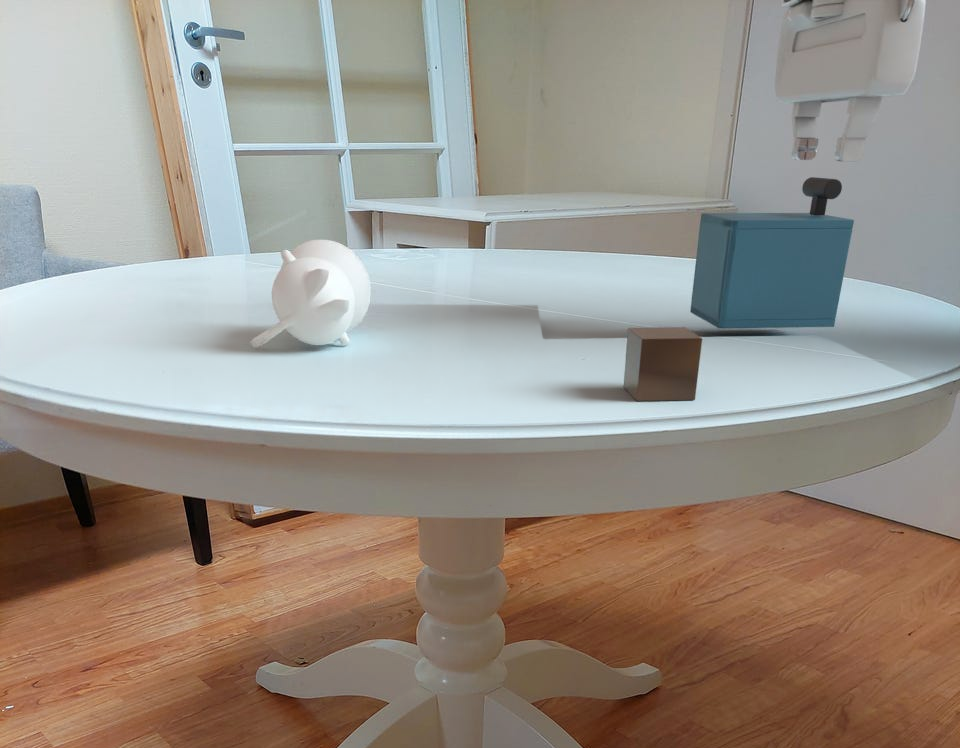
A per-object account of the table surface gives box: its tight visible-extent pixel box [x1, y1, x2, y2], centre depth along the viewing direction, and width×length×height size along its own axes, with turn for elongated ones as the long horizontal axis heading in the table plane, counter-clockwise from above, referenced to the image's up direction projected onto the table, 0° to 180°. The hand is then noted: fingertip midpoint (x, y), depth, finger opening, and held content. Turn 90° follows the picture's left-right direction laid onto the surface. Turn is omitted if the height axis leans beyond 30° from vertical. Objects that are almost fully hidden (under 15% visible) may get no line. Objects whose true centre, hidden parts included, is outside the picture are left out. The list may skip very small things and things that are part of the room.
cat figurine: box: [250, 238, 372, 349], centre depth 75 cm, size 9×11×12 cm
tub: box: [689, 176, 855, 329], centre depth 82 cm, size 12×9×11 cm
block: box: [623, 326, 703, 402], centre depth 60 cm, size 4×4×4 cm
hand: (823, 161), depth 79 cm, fingers open, 8 cm apart
